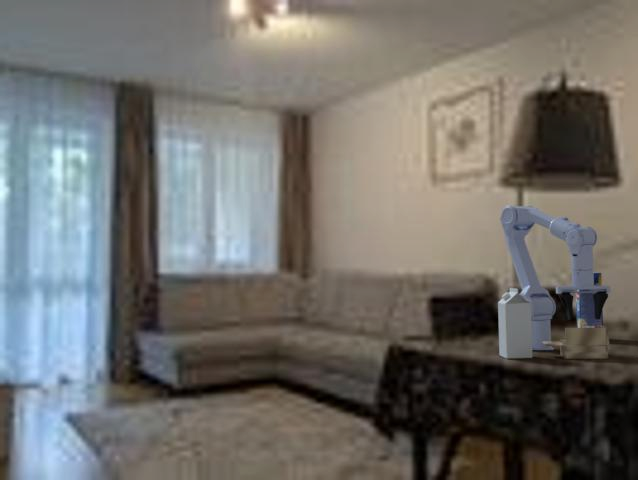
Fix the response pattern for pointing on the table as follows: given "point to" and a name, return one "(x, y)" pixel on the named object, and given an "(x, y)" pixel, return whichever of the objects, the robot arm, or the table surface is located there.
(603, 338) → the flap
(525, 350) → the milk carton
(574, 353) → the carton
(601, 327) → the flap
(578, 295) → the beverage box
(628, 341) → the table surface
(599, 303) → the robot arm
